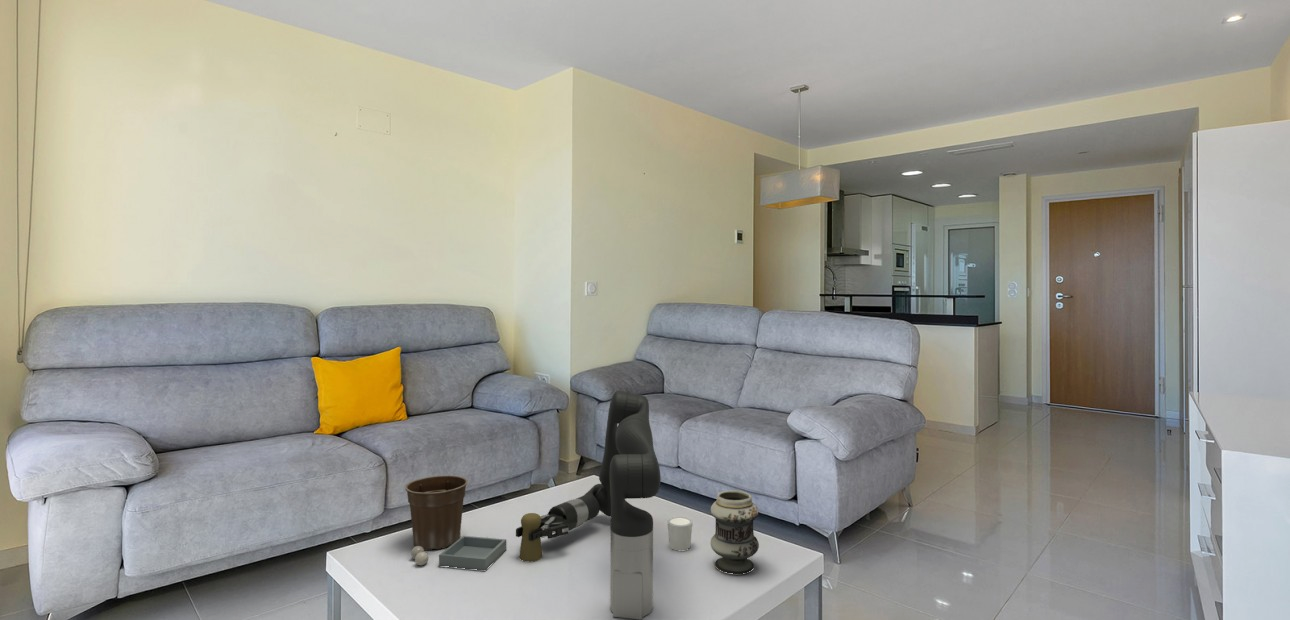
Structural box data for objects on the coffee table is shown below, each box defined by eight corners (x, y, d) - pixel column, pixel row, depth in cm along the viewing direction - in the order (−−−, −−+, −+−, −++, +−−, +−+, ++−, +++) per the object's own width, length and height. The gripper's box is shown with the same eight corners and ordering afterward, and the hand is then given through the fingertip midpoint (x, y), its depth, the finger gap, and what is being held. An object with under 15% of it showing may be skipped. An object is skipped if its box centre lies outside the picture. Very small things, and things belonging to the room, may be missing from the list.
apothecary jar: (729, 551, 158) (730, 484, 158) (768, 566, 150) (768, 495, 149) (700, 565, 150) (700, 494, 150) (739, 582, 141) (739, 506, 141)
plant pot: (405, 534, 169) (405, 478, 169) (465, 527, 175) (465, 472, 174) (404, 557, 154) (404, 495, 153) (469, 549, 159) (469, 489, 159)
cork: (514, 558, 153) (514, 516, 153) (529, 550, 159) (529, 509, 159) (532, 563, 151) (533, 520, 150) (547, 554, 156) (547, 512, 156)
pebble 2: (424, 568, 148) (424, 555, 148) (412, 567, 148) (412, 554, 148) (431, 562, 151) (431, 550, 151) (419, 561, 151) (419, 549, 151)
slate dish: (485, 571, 146) (485, 559, 146) (438, 566, 148) (438, 554, 148) (506, 550, 158) (506, 539, 158) (463, 546, 161) (463, 535, 161)
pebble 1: (419, 561, 151) (419, 549, 151) (408, 560, 152) (408, 548, 152) (426, 556, 154) (426, 544, 154) (415, 555, 155) (415, 543, 155)
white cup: (690, 553, 157) (691, 526, 157) (665, 550, 159) (665, 524, 159) (693, 542, 164) (694, 517, 164) (669, 540, 165) (669, 515, 165)
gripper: (549, 497, 170) (503, 514, 156) (588, 507, 162) (543, 526, 148) (549, 523, 170) (503, 543, 156) (588, 534, 162) (543, 556, 148)
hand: (523, 535), depth 152 cm, fingers closed on cork, 4 cm apart
